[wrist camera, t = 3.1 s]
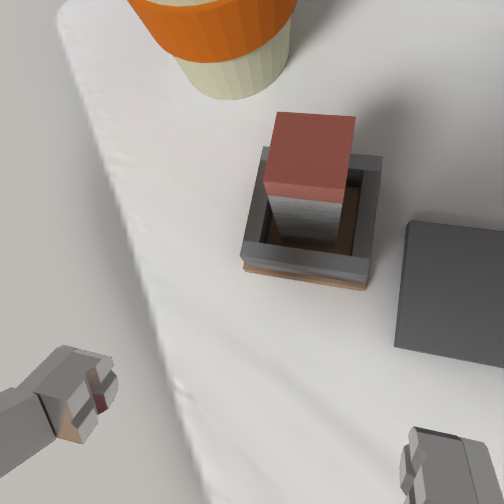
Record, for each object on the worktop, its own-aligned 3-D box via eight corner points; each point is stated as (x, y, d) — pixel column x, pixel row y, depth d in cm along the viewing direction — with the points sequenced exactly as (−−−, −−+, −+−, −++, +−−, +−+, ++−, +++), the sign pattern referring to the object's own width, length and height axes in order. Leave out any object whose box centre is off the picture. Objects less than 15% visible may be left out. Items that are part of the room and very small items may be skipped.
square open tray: (378, 179, 25) (387, 153, 22) (364, 291, 23) (372, 281, 20) (267, 168, 27) (260, 142, 24) (245, 271, 25) (234, 259, 22)
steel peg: (342, 199, 24) (355, 116, 16) (334, 249, 24) (345, 189, 15) (290, 193, 25) (277, 111, 17) (281, 241, 24) (262, 181, 16)
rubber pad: (542, 242, 22) (552, 237, 21) (541, 375, 21) (552, 376, 20) (406, 225, 24) (410, 220, 23) (394, 347, 22) (397, 346, 21)
